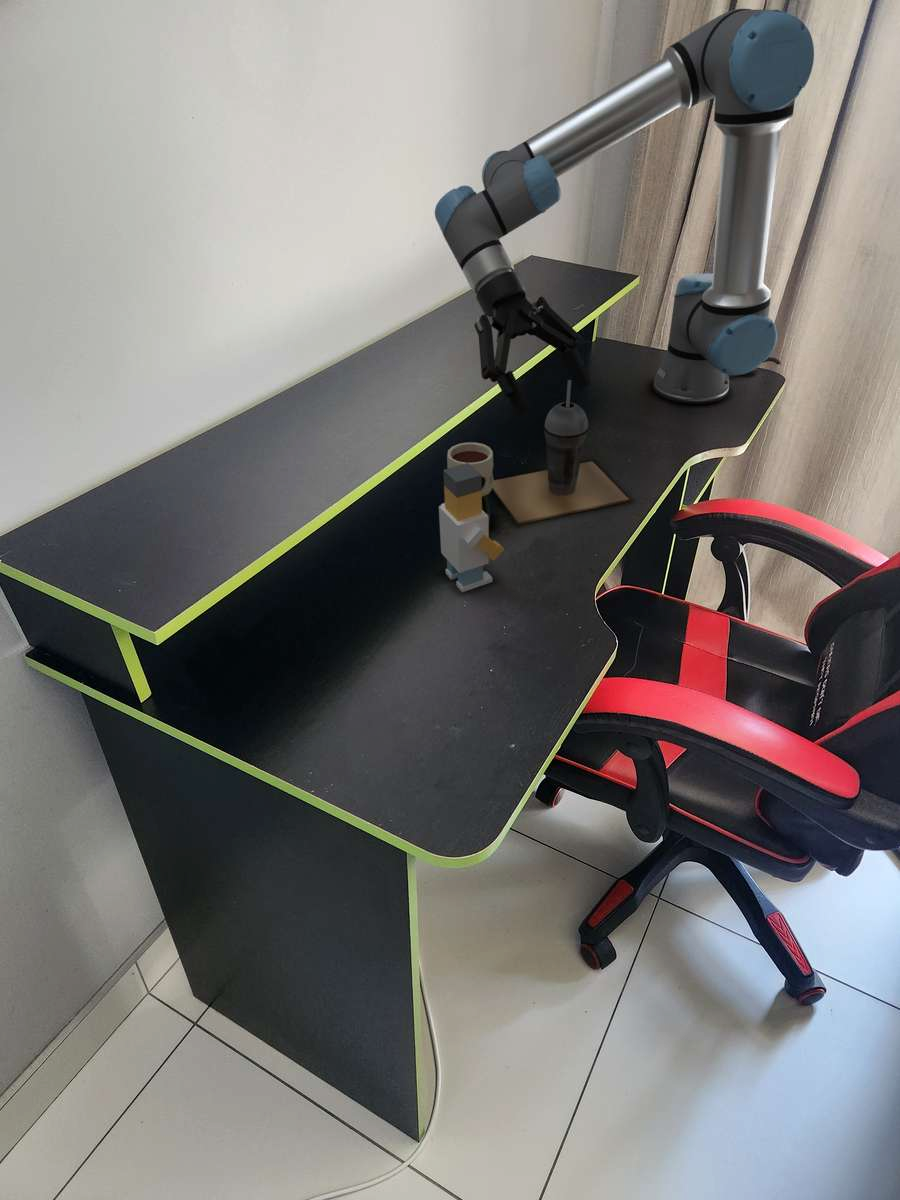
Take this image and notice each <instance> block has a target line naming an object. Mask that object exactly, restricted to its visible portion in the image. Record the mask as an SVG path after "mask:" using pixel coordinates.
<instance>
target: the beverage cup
mask: <svg viewBox="0 0 900 1200" xmlns="http://www.w3.org/2000/svg"><path fill="white" fill-rule="evenodd" d="M566 388H567V389H566V401H563V402H560V403H558V404H556V405H555V406H553V407H552V408H551V409H550V410H549V412H547V415H546V418H545V421H544V425H543V430H544V438H545V441H546V442H545V443H546V463H547V467H546V468H547V470H548V482H549V491H550V492H551V493H553V494H556V495H562V496H563V495H570V494H572V493H573V492H574V491H575V487H576V483H577V478H578V473H579V467H580V463H581V460H582V455H583V451H584V450H583V449H584V444H585V441H586V438H587V434H588V432H589V428H590V427H589V421H588V417H587V415H586V412H585V410H584V409H583V407H581V406H580V405H578V404H577V403H574V402H571V391H572V390H571V388H572V380H571V379H569V380H567V387H566Z"/></svg>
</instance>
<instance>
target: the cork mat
mask: <svg viewBox="0 0 900 1200" xmlns="http://www.w3.org/2000/svg"><path fill="white" fill-rule="evenodd" d="M493 481H494V482H493V487H492V489H491V490H492V491H493V492H494V493H495V495H496V496H497V498H498V499H499V500H500V502H501V503H502V505H503V506H504V507H505V508H506V510H507V511H508V513H509V514H510V516H511V518H513V520H514V521H515V522H516V524H517V526H518V525H523V524H529V523H533V522H538V521H543V520H547V519H552V518H556V517H562V516H566V515H571V514H576V513H580V512H585V511H590V510H595V509H599V508H604V507H609V506H613V505H618V504H624V503H627V502H629V500H630V499H629V497H628V496H626V494H625V493H624V492H623V491H622V490H620V488H618V486H617V485H616V484H615V482H613V481H612V479H610V478H609V477H608V476H607V475H606V474H605V473H604V472H603V471H602V470H601V469H600V468H599V467H598V466H597V465H596V463H595V462H593V461H592V460H591V461H585V462H580V467H579V473H578V478H577V483H576V487H575V491H574V492H573V493H572V494H570V495H563V496H562V495H556V494H553V493H551V492H550V491H549V482H548V469H544V470H540V471H535V472H530V473H525V474H520V475H514V476H510V477H505V478H499V479H493Z"/></svg>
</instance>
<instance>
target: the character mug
mask: <svg viewBox="0 0 900 1200" xmlns="http://www.w3.org/2000/svg"><path fill="white" fill-rule="evenodd" d="M446 463H447V469H449V468H452V467H456V466H459V465H463V464H466V463H469V464H470V465H471V466H472V467H473V468H474V469H475V470H476V471H478V472H479V473H480V474H481V482H482V510H483V511H484V512H485V513H486V514H487V515H488V516H489V525H490V524H491V520H492V519H491V509H490V504H489V497H488V495H489V494H490V493H491V492H492V490H493V489H492V487H493V482H494V474H493V468H494V451H493V450H492V449H491V447H490V446H488V445H486V444H484V443H479V442H463V443H462V442H461V443H458V444H456V445H453V446H451V447H450V448H449V449H448V450H447V455H446Z"/></svg>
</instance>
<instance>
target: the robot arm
mask: <svg viewBox="0 0 900 1200" xmlns="http://www.w3.org/2000/svg"><path fill="white" fill-rule="evenodd" d="M814 60H815V47H814V40H813V38H812V35H811V32H810V30H809V28H808V27H807V26H806V25H805V23H804V22H803V21H802V20H801V19H799V17H797V16H795V15H793V14H790V13H788V12H786V11H784V10H783V11H782V10H780V9H751V8H736V9H731V10H729V11H727V12H724V13H722V14H720V15H718V16H716V17H715V18H713V19H711V20H710V21H708V22H706V23H705V24H703V25H701V26H700V27H698V28H697V29H695V30H693V31H692V32H690V33H689V34H687V35H685V36H684V37H682V38H681V39H679V40H678V41H676V42H674V43H672V44H671V45H670V46H668V47H666V48H665V49H664V53H663V55H662V58H661V59H660V60H658V61H656V62H654V63H652V64H651V65H649V66H648V67H646V68H644V69H643V70H641V71H640V72H637V73H635V75H633V76H631V77H630V78H628V79H626V80H625V81H623V82H621V83H619V84H618V85H617V86H615V87H613V88H611V89H609V90H608V91H606V92H605V93H603V94H601V95H599V96H598V97H596V98H595V99H593V100H591V101H589V102H588V103H586V104H585V105H582V106H581V107H579V108H577V109H576V110H574V111H573V112H571V113H569V114H567V115H566V116H564V117H563V118H561V119H559V120H558V121H556V122H555V123H553V124H551V125H549V126H548V127H546V128H545V129H543V130H541V131H539V132H537V133H536V134H535V135H533V136H531V137H529V138H528V139H526V140H525V141H523V142H521V143H519V144H517V145H516V146H514V147H513V148H510V149H509V150H505V149H504V150H498V151H495V152H493V153H492V154H490V155H489V157H487V159H486V160H485V162H484V164H483V167H482V170H481V180H482V181H481V182H482V184H483V185H482V186H483V188H484V189H482V191H479V192H476V191H475V190H474V189H473V187H471V186H470V185H460V186H458V187H457V188H452V189H451V190H449V191H448V192H446V193H445V194H444V195H443V196H441V198H440V199H439V200H438V202H437V203H436V205H435V207H434V208H435V209H434V218H435V220H436V222H437V224H438V227H439V229H440V231H441V233H442V236H443V238H444V240H445V242H446V243H447V245H448V247H449V249H450V251H451V253H452V255H453V256H454V258H455V261H456V262H457V263H458V264H457V265H459V268H460V269H461V271H462V273H463V275H464V277H465V279H466V281H467V283H468V285H469V287H470V290H472V293H473V294H476V297H475V298H476V301H477V303H478V305H479V306H480V308H481V310H482V312H483V314H481V315H480V317H479V318H478V319H477V320H476V321H475V323H474V324H473V325H474V329H475V331H476V334H477V336H478V348H479V359H480V360H479V361H480V371H481V372H480V373H481V374H480V375H481V378H482V379H483V380H489V381H490V382H492V383H497V385H498V387H499V388H500V390H501V392H502V395H503V396H504V397H505V398H507V397H508V399H509V401H510V403H511V404H512V406H513V409H514V410H515V412H516V414H517V416H518V417H519V416H522V415H523V414H524V413H526V412H527V411H528V410H529V409H530V408H531V405H530V403H529V402H528V400H527V398H526V396H525V394H524V392H523V390H522V388H521V386H520V384H519V383H518V381H517V379H516V377H515V375H514V373H513V371H512V370H509V371H507V367H508V360H509V354H510V348H511V347H510V346H511V341H512V340H514V339H516V338H518V337H522V336H526V335H529V336H534V337H536V338H537V339H539V340H541V341H543V342H544V343H546V344H547V345H549V346H551V347H552V348H554V349H555V350H557V351H559V352H560V353H562V355H561V356H560V358H561V360H562V362H563V364H564V366H565V368H566V370H567V372H568V374H569V375H570V378H571V379H572V381H573V383H574V385H575V387H576V389H577V391H578V392H581V391H583V390H584V389H585V388H586V387H588V386H589V385H590V384H592V382H591V380H590V378H589V376H588V374H587V372H586V370H585V368H584V360H583V359H582V357H581V356H580V353H579V351H578V349H577V346H578V345H579V344H580V342H581V341H582V340H583V338H582V336H581V334H579V333H578V331H576V330H575V329H574V328H573V327H572V326H571V325H570V324H569V323H568V322H566V321H565V320H564V319H563V318H562V317H561V316H560V315H559V314H558V313H557V312H556V311H555V310H554V309H553V308H552V307H551V306H550V305H549V303H548V302H547V300H546V299H545V297H544V296H539V297H538V298H537V299H536V300H535V301H533V302H530V301H529V300H528V299H527V297H526V295H527V294H526V288H525V286H524V284H523V282H522V281H521V279H520V276H519V274H518V273H517V272H516V271H514V270H515V269H514V268H515V267H514V265H513V263H512V261H511V259H510V257H509V255H508V254H507V251H506V250H505V248H504V246H503V244H502V242H501V241H500V239H502V238H503V237H505V236H507V235H509V234H510V233H511V232H513V231H515V230H516V229H519V227H521V226H523V225H525V224H526V223H528V222H529V221H531V220H532V219H534V218H537V217H538V216H540V215H541V214H544V213H546V212H547V210H549V209H550V208H552V207H553V206H554V205H556V204H557V203H558V202H560V200H561V198H562V190H561V185H560V183H559V180H558V178H559V177H560V176H562V175H563V174H565V173H567V172H569V171H570V170H572V169H574V168H576V167H578V166H579V165H581V164H583V163H584V162H586V161H588V160H590V159H591V158H594V157H595V156H597V155H598V154H600V153H602V152H603V151H605V150H607V149H608V148H611V147H613V146H614V145H615V144H617V143H620V142H621V141H623V140H624V139H625V138H627V137H630V136H631V135H633V134H635V133H636V132H638V131H640V130H641V129H643V128H645V127H647V126H648V125H650V124H652V123H654V122H655V121H657V120H659V119H661V118H662V117H664V116H666V115H667V114H669V113H671V112H673V111H674V110H676V109H678V108H679V109H683V110H685V111H687V110H689V109H691V108H692V107H694V106H696V105H698V104H700V103H702V102H705V101H708V100H712V99H714V114H713V124H714V125H715V126H716V127H717V128H718V130H719V131H720V132H721V133H722V141H721V157H720V168H719V169H720V170H719V183H718V195H717V197H718V198H717V210H716V224H715V238H714V239H715V240H714V251H713V252H714V253H713V265H712V273H696V274H689V275H686V276H684V277H681V278H680V279H679V280H678V282H677V285H676V289H675V292H674V295H673V298H674V300H673V306H672V315H671V320H670V321H671V322H670V329H669V335H668V343H667V351H666V353H665V355H664V357H663V359H662V361H661V363H660V366H659V368H658V370H657V372H656V374H655V376H654V379H653V385H652V386H653V387H652V389H653V391H654V392H655V393H656V394H657V395H658V396H659V397H661V398H663V399H665V400H667V401H671V402H674V403H678V404H683V405H684V404H685V405H707V404H713V403H717V402H719V401H722V400H723V399H725V398H726V397H727V395H728V394H729V390H730V389H729V388H730V378H729V376H741V375H743V376H744V375H746V376H747V375H755V374H756V372H757V371H758V368H759V367H760V366H761V364H763V363H767V362H772V363H774V364H776V365H782V363H781V361H780V360H779V359H778V358H777V357H773V356H771V355H772V353H773V351H774V349H775V348H776V345H777V341H778V330H777V327H776V324H775V322H774V321H773V320H772V319H771V318H770V317H769V315H770V306H771V300H772V299H771V298H772V292H771V291H772V290H770V288H769V287H767V285H765V283H764V280H765V279H764V278H765V269H766V261H767V251H768V243H769V236H770V235H769V234H770V228H771V227H770V226H771V216H772V208H773V200H774V193H775V192H774V191H775V183H776V175H777V165H778V157H779V149H780V148H779V147H780V139H781V132H782V131H781V130H782V128H783V126H784V125H786V123H788V121H789V120H790V119H791V118H792V117H793V115H794V109H795V101H796V99H797V97H798V96H799V95H800V92H801V91H802V89H803V88H805V87H806V85H807V84H808V82H809V79H810V76H811V74H812V71H813V67H814V62H815V61H814ZM493 329H495V331H497V336H496V349H495V347H494V336H493Z"/></svg>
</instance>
